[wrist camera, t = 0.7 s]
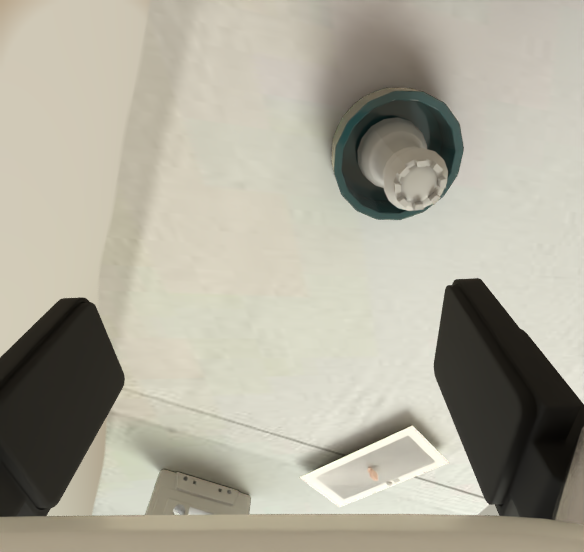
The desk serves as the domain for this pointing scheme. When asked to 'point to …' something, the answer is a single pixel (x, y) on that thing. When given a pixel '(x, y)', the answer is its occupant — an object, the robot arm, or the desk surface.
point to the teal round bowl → (384, 105)
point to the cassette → (194, 497)
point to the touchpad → (375, 467)
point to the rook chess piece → (402, 164)
